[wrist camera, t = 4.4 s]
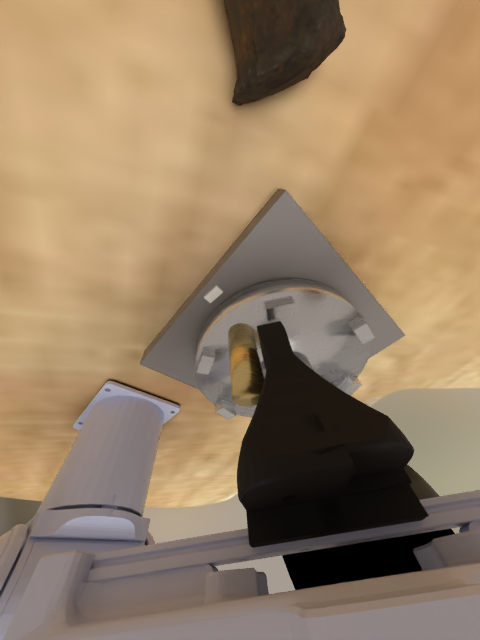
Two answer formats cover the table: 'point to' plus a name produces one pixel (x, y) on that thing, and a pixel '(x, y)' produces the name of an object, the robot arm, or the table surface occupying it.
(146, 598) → the robot arm
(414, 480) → the coal bowl
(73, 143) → the table surface
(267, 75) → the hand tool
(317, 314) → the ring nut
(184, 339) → the base plate
